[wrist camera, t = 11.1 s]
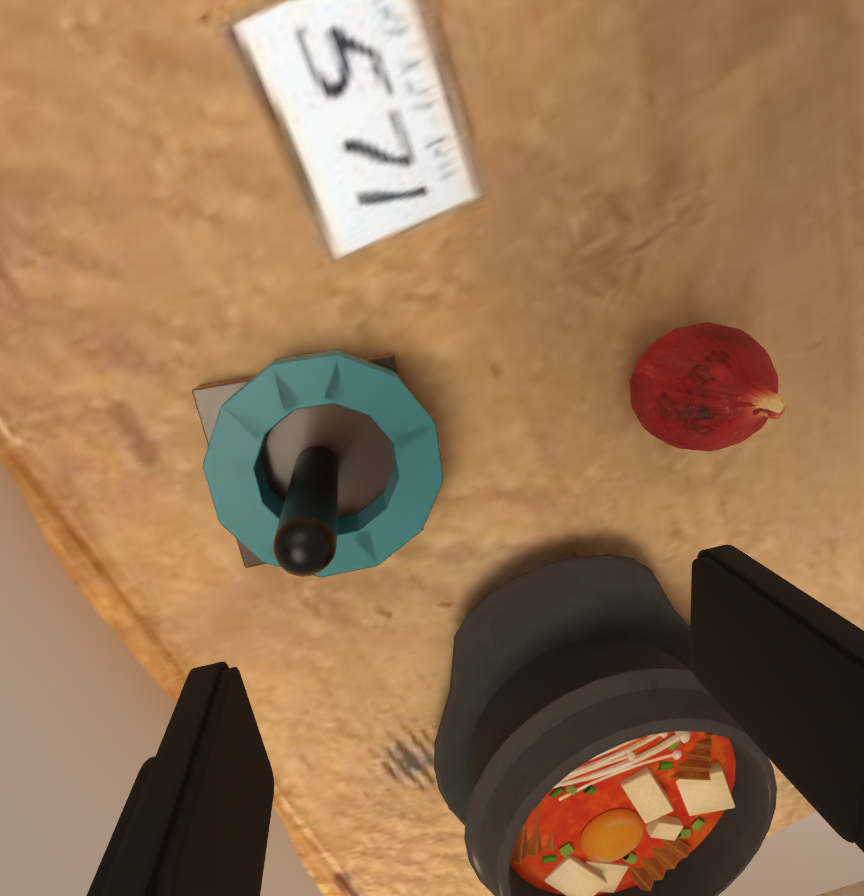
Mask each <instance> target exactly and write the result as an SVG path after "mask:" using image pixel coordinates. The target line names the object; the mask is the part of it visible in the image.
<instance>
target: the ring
mask: <svg viewBox="0 0 864 896" xmlns="http://www.w3.org/2000/svg"><path fill="white" fill-rule="evenodd" d="M332 403H334V404H337V405H340V406H343V407H346V408H349V409H352V410H354V411H357V412H360V413H363V414H366V415H369V416H370V417H371V418H372V419H373V420H374V422H375V423H376V424H377V425H378V426H379V427H380V429H381V430H382V431H383V432H384V433H385V434H386V435H387V437H388V438H389V439H390V440H391V445H392V451H393V457H394V463H395V464H394V467H393V469H392V472H391V474H390V477H389V480H388V482H387V485H386V487H385V490H384V492H383V494H382V495H380V496H379V497H378V498H377V499H375V500H374V501H373V502H372V503H370V504H369V505H368V506H367V507H365V508H364V509H363V510H362V511H360V512H359V513H358V514H353V515H348V516H343V517H338V518H337V548H336V553H335V556H334V558H333V560H332V561H331V563H330V564H329V565H328V566H327V567H326V568H325V569H324V570H322V571H321V572H319V573H317V574H315V575H314V576H318V577H326V576H331V575H335V574H340V573H345V572H350V571H355V570H359V569H364V568H369V567H374V566H377V565H379V564H380V563H382V562H383V561H384V560H385V559H387V558H388V557H389V556H391V555H392V554H393V553H394V552H396V551H397V550H398V549H399V548H401V547H402V546H403V545H404V544H406V543H407V542H408V541H409V540H411V539H412V538H413V537H414V536H416V535H417V534H418V533H419V532H421V530H422V529H423V527H424V525H425V522H426V520H427V518H428V515H429V513H430V511H431V508H432V506H433V503H434V501H435V499H436V496H437V494H438V492H439V489H440V487H441V484H442V482H443V472H442V465H441V457H440V450H439V443H438V436H437V428H436V424H435V422H434V421H433V419H432V418H431V416H430V415H429V414H428V412H427V411H426V410H425V409H424V408H423V406H422V405H421V404H420V403H419V401H418V400H417V399H416V398H415V396H414V395H413V394H412V393H411V391H410V390H409V389H408V388H407V387H406V385H405V384H404V383H403V382H402V380H401V379H400V378H399V377H398V375H397V374H396V373H395V372H394V371H393V370H390V369H388V368H385V367H383V366H380V365H377V364H375V363H372V362H369V361H367V360H364V359H362V358H359V357H356V356H354V355H351V354H348V353H346V352H343V351H341V350H330V351H323V352H317V353H310V354H304V355H298V356H291V357H285V358H278V359H277V360H275V361H273V362H272V363H271V364H270V365H268V366H267V367H266V368H265V369H264V370H262V371H261V372H260V373H259V374H258V375H256V376H255V377H254V378H253V379H252V380H250V381H249V382H248V383H247V384H246V385H244V386H243V387H242V388H241V389H240V390H238V391H237V392H236V393H235V394H234V395H232V396H231V397H230V398H229V399H228V400H227V401H226V402H225V403H224V404H223V405H222V406H221V407H220V410H219V413H218V417H217V420H216V423H215V426H214V430H213V433H212V436H211V439H210V443H209V446H208V449H207V452H206V455H205V459H204V462H203V469H204V472H205V475H206V479H207V482H208V486H209V489H210V492H211V496H212V499H213V503H214V506H215V509H216V513H217V516H218V520H219V522H220V523H221V524H222V525H223V526H224V527H225V528H226V529H227V530H228V531H229V532H230V533H231V534H233V535H234V536H235V537H236V538H237V539H238V540H239V541H240V542H241V543H242V544H244V545H245V546H246V547H247V548H248V549H249V550H250V551H251V552H252V553H253V554H254V555H256V556H257V557H258V558H259V559H260V560H261V561H262V562H265V563H267V564H271V565H275V566H279V567H281V566H280V565H279V563H278V562H277V560H276V558H275V555H274V550H273V544H274V538H275V534H276V531H277V527H278V523H279V520H280V516H281V513H282V509H283V505H284V501H283V500H282V499H281V498H280V497H279V496H278V495H277V494H276V493H275V492H273V491H272V490H271V489H270V488H269V485H268V481H267V477H266V473H265V469H264V465H263V461H262V457H261V453H262V450H263V448H264V445H265V442H266V439H267V436H268V433H269V431H270V430H271V429H272V428H273V427H275V426H276V425H277V424H278V423H280V422H281V421H282V420H283V419H284V418H286V417H287V416H288V415H289V414H291V413H292V412H293V411H294V410H297V409H303V408H309V407H314V406H320V405H326V404H332Z"/></svg>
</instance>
